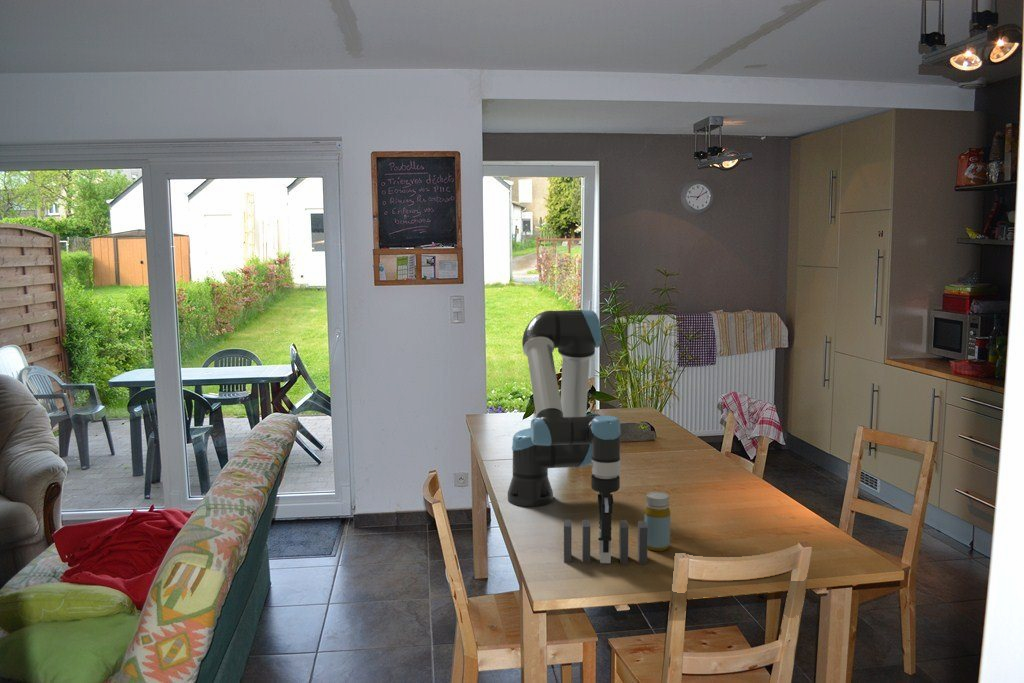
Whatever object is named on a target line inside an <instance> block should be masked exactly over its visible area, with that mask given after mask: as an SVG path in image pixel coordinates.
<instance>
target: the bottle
mask: <svg viewBox="0 0 1024 683" xmlns="http://www.w3.org/2000/svg"><path fill="white" fill-rule="evenodd" d="M645 497H646V500H645V501H646V504H645V505H646V506H645V508H644V521H646V524H647V528H648V532H647V550H650V551H654V552H663V551H666V550H667V549H669V548H670V546H671V545H670V544H671V543H670V542H671V510H670V495H669V494H668V493H666V492H662V491H650V492H648V493H647V494H646V496H645Z"/></svg>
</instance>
